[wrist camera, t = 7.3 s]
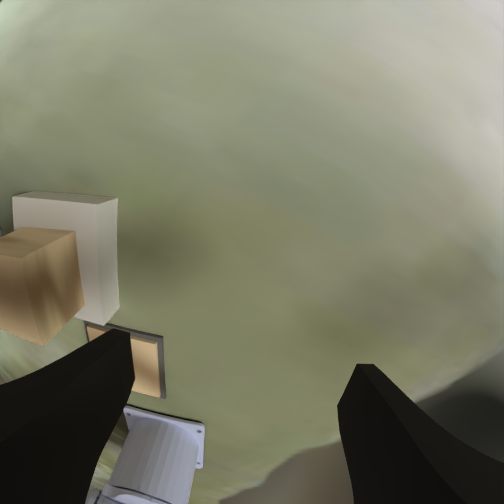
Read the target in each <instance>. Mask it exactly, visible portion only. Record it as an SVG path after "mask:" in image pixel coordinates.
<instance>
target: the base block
mask: <svg viewBox="0 0 504 504" xmlns="http://www.w3.org/2000/svg"><path fill="white" fill-rule="evenodd" d="M12 201H13V224H14V231H16V230H18V229H21V228H23V227H31V228H44V229H57V230H69V231H75V232H76V244H77V254H78V262H79V270H80V277H81V284H82V290H83V296H84V302H85V306H84V307H83V308H82V309H81V310H79V311H78V312H77V313H76V314H75V315H74V316H73V317H76V318H79V319H82V320H85V321H89V322H92V323H96V324H99V325H103V326H104V325H105V324H106V323H107V322H108V321H109V319H110V318H111V317H112V316H113V315H114V314H115V312H116V311H117V310H118V309H119V308H120V306H119V291H118V270H117V209H118V198H115V197H105V196H94V195H83V194H71V193H58V192H44V191H32V192H28V193H24V194H20V195H16V196H12Z"/></svg>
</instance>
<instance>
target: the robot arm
mask: <svg viewBox="0 0 504 504" xmlns="http://www.w3.org/2000/svg"><path fill="white" fill-rule="evenodd" d="M134 381H135V371H134V364H133V356H132V348H131V338H130V332H126V331H122V330H119V329H115V328H113V329H111V330H109V331H107V332H105V333H103V334H102V335H100V336H98V337H97V338H95V339H93V340H92V341H90V342H88V343H87V344H85V345H83V346H81V347H80V348H78V349H76V350H75V351H73V352H71V353H69V354H68V355H66V356H64V357H62V358H61V359H59V360H57V361H55V362H53V363H51V364H49V365H47V366H45V367H43V368H41V369H39V370H37V371H35V372H33V373H31V374H28V375H26V376H24V377H21V378H19V379H16V380H13V381H11V382H8V383H5V384H2V385H0V504H188V501H189V496H190V491H191V486H192V481H193V476H194V471H195V468H199V469H200V468H202V467H203V452H204V433H205V426H204V425H203V424H202V423H198V422H193V421H188V420H183V419H178V418H173V417H169V416H165V415H161V414H157V413H153V412H149V411H145V410H141V409H138V408H134V407H131V406H127V405H126V403H127V401H128V398H129V395H130V393H131V390H132V387H133V384H134ZM125 405H126V406H125ZM337 409H338V421H339V430H340V435H341V440H342V444H343V448H344V453H345V457H346V461H347V465H348V470H349V474H350V479H351V483H352V489H353V496H354V504H504V463H503V462H500V461H497V460H495V459H493V458H490V457H489V456H486V455H484V454H483V453H481V452H479V451H477V450H475V449H474V448H472V447H470V446H469V445H467V444H465V443H464V442H462V441H461V440H459V439H458V438H456V437H455V436H453V435H452V434H450V433H449V432H448V431H446V430H445V429H444V428H442V427H441V426H440V425H438V423H436V422H435V421H434V420H433V419H431V418H430V417H429V416H428V415H427V414H426V413H425V412H423V411H422V410H421V409H420V408H419V407H418V406H417V405H416V404H415V403H414V402H413V401H412V400H411V399H410V398H408V397H407V396H406V395H405V394H404V393H403V392H402V391H401V390H400V389H399V388H398V387H397V386H396V385H395V384H394V383H393V382H392V381H391V380H390V379H389V378H388V377H387V376H386V375H385V374H384V373H383V372H382V371H381V370H380V369H378V368H377V367H376V366H375V365H374V364H357V365H356V367H355V369H354V371H353V374H352V376H351V378H350V380H349V382H348V384H347V387H346V389H345V391H344V393H343V395H342V397H341V399H340V401H339V403H338V405H337ZM122 411H124V415H125V418H126V422H127V426H128V429H129V433H128V435H127V438H126V440H125V443H124V445H123V447H122V450H121V452H120V455H119V457H118V459H117V462H116V464H115V467H114V469H113V472H112V474H111V477H110V479H109V482H108V484H105V485H104V488H103V490H100V489H98V488H94V489H90V490H89V487H90V483H91V480H92V477H93V474H94V471H95V468H96V465H97V462H98V460H99V457H100V455H101V453H102V450H103V448H104V446H105V444H106V442H107V441H108V439H109V437H110V435H111V433H112V431H113V429H114V427H115V425H116V423H117V421H118V419H119V417H120V415H121V413H122ZM101 491H102V493H101Z"/></svg>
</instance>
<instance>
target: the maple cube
mask: <svg viewBox="0 0 504 504" xmlns="http://www.w3.org/2000/svg"><path fill="white" fill-rule="evenodd" d="M84 306H85V302H84V296H83V290H82V284H81V277H80V270H79V262H78V254H77V244H76V232H75V231H69V230H57V229H44V228H31V227H23V228H21V229H18V230H16V231H13V232H11V233H9V234H6V235H4V236H2V237H0V329H1V330H4V331H6V332H8V333H11V334H13V335H15V336H18V337H20V338H23V339H25V340H28V341H30V342H33V343H35V344H38V345H41V346H44V345H45V344H46V343H47V342H48V341H49V340H50V339H51V338H52V337H53V336H54V335H55V334H56V333H57V332H58V331H59V330H60V329H61V328H62V327H63V326H64V325H65V324H66V323H67V322H68V321H69V320H70V319H71V318H72V317H73V316H74V315H75V314H76V313H77V312H78V311H79V310H81V309H82V308H83V307H84Z"/></svg>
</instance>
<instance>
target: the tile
mask: <svg viewBox="0 0 504 504" xmlns="http://www.w3.org/2000/svg"><path fill="white" fill-rule="evenodd" d="M84 321H85V320H84ZM85 327H86V332H87V338H88V342H90V341H92V340H93V339H95V338H97V337H98V336H100V335H102V334H103V333H105V332H107V331H109V330H111V329H113V328H115V329H119V330H122V331H126V332H130V338H131V348H132V356H133V364H134V371H135V381H134V384H133V387H132V391H136V392H139V393H143V394H147V395H151V396H155V397H159V398H164V399H165V398H166V388H165V371H164V348H163V336H159V335H155V334H150V333H146V332H142V331H137V330H133V329H129V328H125V327H121V326H117V325H113V324H109V323H106V324H105V325H104V326H103V325H99V324H96V323H92V322H89V321H85Z"/></svg>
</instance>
